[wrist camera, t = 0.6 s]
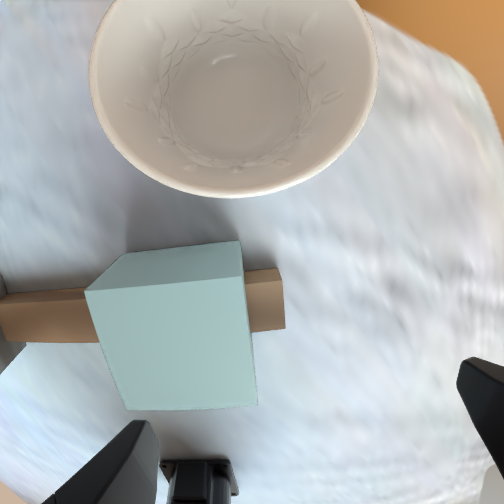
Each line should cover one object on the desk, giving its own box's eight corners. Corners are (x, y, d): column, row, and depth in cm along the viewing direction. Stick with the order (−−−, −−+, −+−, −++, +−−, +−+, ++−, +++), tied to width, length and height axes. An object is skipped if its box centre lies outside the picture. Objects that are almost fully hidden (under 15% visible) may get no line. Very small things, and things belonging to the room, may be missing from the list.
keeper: (252, 345, 20) (258, 405, 15) (148, 353, 20) (126, 409, 15) (240, 240, 18) (241, 276, 13) (123, 253, 18) (83, 291, 13)
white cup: (142, 145, 17) (48, 140, 7) (200, 25, 15) (169, -78, 5) (271, 198, 18) (309, 245, 9) (326, 76, 16) (410, 11, 7)
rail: (282, 333, 21) (300, 406, 14) (6, 344, 20) (-38, 391, 14) (275, 243, 19) (296, 292, 12) (-18, 277, 19) (-74, 314, 12)
